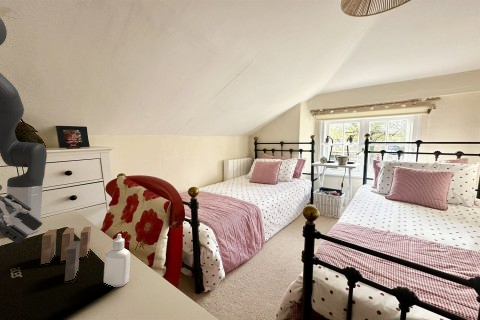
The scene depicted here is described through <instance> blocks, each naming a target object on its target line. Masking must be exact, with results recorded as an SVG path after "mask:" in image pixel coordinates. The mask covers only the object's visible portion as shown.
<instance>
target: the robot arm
mask: <svg viewBox="0 0 480 320" xmlns="http://www.w3.org/2000/svg"><path fill="white" fill-rule="evenodd" d="M7 33H8V32H7V27H6V25H5V22H4V20H3V19H2V18H1V17H0V46H2V45H3V44H4V43H5V41H6V39H7ZM17 89H18V88H16V87H15V86H14V85H13V83H12V82H11V81H10V80H9V79H8V78H7V77H6V76H4V75H3V74H2V73H1V72H0V158H1V160H2V161H3V163H4V164H5V165H6V166H9V167H14V168H27V169H26V171H25V172H24V173H23V174H21V175H16V176H11V177H9V178H8V179H7V182H6V195H5V196H2V195H0V235H3V236H4V237H6V238H7V239H8V240H10V241H11V242H13V243H15V244H20V243H21V242H23V241H24V240H26V239H27V238H28V237H29V235H31V234H34V233H38V232H39V231H40V230H41V226H42V225H43V222H42V221H41V217H42V201H43V200H42V199H43V184H44V179H45V172H46V166H47V156H48V152H47V147H46V146H45V145H44V144H42V143H39V142H38V143H37V142H28V141H27V142H24V141H19V140H18V139H17V136H16V132H15V131H16V128H17V126H18V124H19V123H20V121H21V120H22V119H23V116H24V113H25V108H24V104H23V102H22V98H21V95H20V94H19V91H18V90H17ZM2 189H3V186H2V184H0V191H1V190H2Z"/></svg>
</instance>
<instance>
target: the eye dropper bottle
mask: <svg viewBox="0 0 480 320" xmlns="http://www.w3.org/2000/svg"><path fill="white" fill-rule="evenodd" d="M112 242H113V243H112V248H111V249H109V250H107V251H106V252H105V254H104V255H105V257H104V269H103V284H104V283H106V284H108V285H111V286H113V287H114V288H121V287H124V286H125V285H126V284H128V282H130V270H131V269H130V268H131V267H130V266H131V252H130V251H129V250H128V249H126V248H125V242H126V241H125V238H123V237H122V234H121V233H118V234H117V236H116V238H114V239H113V240H112ZM106 284H105V285H106ZM108 285H107V286H108ZM111 286H110V287H111ZM113 287H112V288H113Z"/></svg>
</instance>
